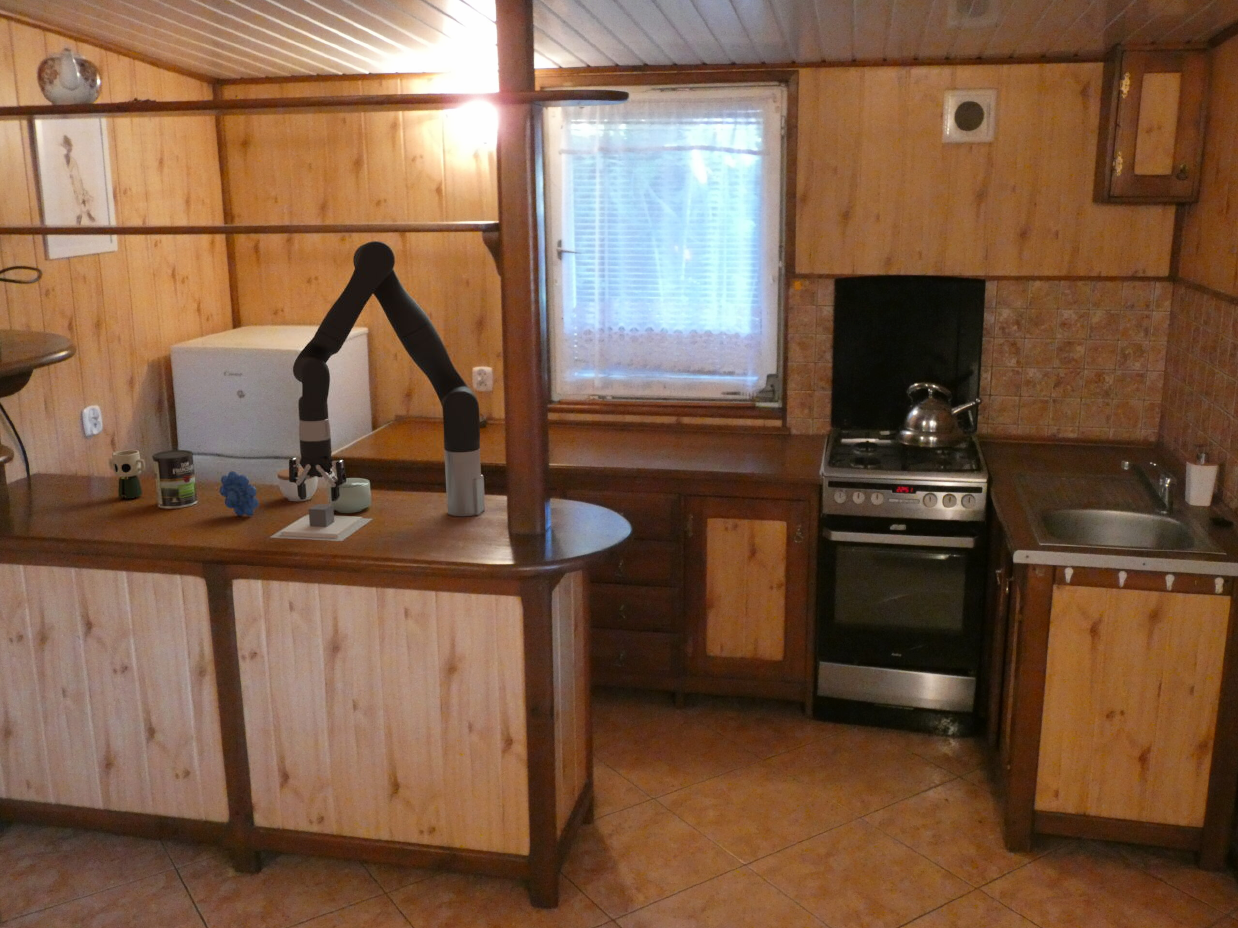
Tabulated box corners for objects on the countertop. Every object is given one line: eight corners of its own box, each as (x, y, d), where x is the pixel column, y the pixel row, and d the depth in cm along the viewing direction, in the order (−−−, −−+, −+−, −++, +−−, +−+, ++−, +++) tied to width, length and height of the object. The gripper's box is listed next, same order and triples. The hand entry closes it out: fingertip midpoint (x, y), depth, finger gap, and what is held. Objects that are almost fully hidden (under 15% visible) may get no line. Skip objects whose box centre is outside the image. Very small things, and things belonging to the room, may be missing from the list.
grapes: (211, 518, 293) (207, 473, 290) (228, 511, 299) (224, 467, 296) (248, 522, 289) (244, 477, 286) (264, 515, 295) (260, 471, 292)
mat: (372, 519, 290) (372, 518, 290) (341, 542, 272) (341, 540, 272) (304, 516, 293) (304, 515, 293) (269, 538, 275) (269, 537, 275)
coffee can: (206, 502, 308) (200, 452, 305) (174, 511, 300) (168, 460, 297) (181, 497, 314) (176, 448, 310) (149, 505, 305) (143, 455, 302)
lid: (362, 520, 288) (361, 500, 287) (337, 538, 274) (336, 516, 272) (308, 518, 291) (306, 497, 290) (280, 535, 277) (279, 513, 275)
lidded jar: (325, 493, 315) (322, 461, 313) (311, 504, 305) (308, 471, 303) (288, 493, 316) (285, 461, 314) (273, 503, 306) (270, 470, 304)
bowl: (377, 505, 303) (376, 478, 301) (361, 517, 292) (359, 488, 291) (339, 503, 305) (337, 476, 303) (322, 515, 294) (320, 487, 293)
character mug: (105, 500, 311) (99, 454, 308) (121, 493, 318) (115, 449, 315) (140, 501, 309) (135, 456, 306) (155, 495, 316) (150, 450, 313)
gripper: (348, 434, 279) (351, 497, 283) (295, 432, 282) (299, 494, 286) (335, 441, 272) (338, 505, 276) (281, 438, 275) (285, 502, 279)
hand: (318, 499), depth 281 cm, fingers open, 8 cm apart
